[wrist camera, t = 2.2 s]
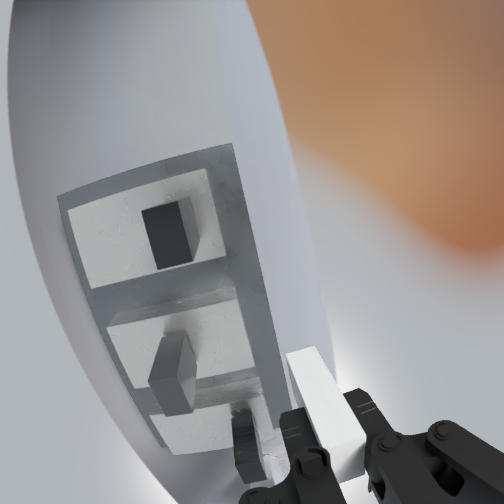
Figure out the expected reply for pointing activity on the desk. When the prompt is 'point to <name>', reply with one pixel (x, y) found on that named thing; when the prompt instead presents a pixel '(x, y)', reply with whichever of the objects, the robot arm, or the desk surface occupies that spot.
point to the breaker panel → (183, 297)
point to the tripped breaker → (174, 375)
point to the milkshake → (270, 473)
